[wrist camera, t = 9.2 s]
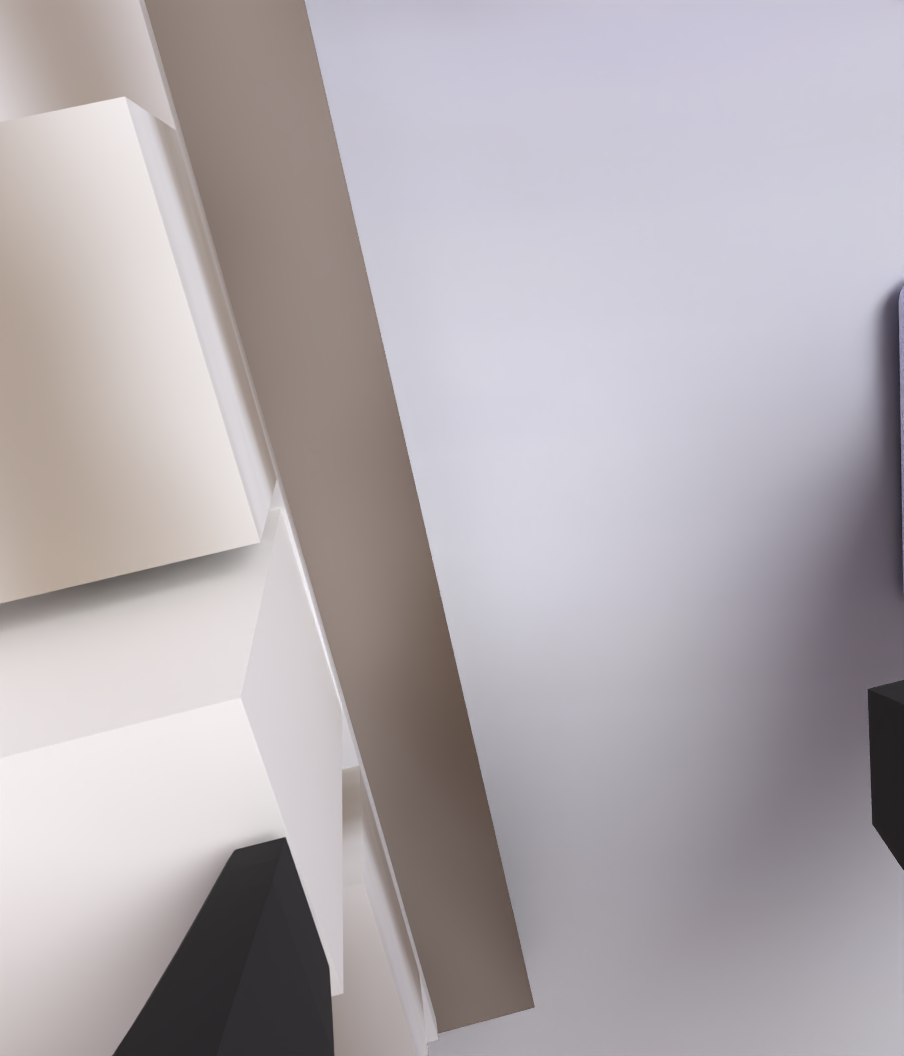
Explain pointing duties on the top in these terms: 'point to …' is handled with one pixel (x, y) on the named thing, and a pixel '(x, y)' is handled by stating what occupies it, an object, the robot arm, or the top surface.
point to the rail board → (350, 472)
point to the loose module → (154, 778)
